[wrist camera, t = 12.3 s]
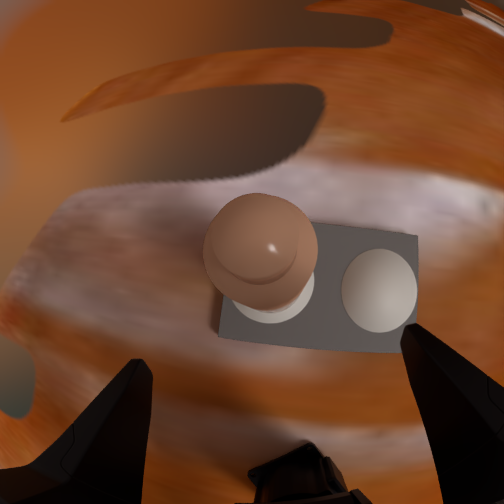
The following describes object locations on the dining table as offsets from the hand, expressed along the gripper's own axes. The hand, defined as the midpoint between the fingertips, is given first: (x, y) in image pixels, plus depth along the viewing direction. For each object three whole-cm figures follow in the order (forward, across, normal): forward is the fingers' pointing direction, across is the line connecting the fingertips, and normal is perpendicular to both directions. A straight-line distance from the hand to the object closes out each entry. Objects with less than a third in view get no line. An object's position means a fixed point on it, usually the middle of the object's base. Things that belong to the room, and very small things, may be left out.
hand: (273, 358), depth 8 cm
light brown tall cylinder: (+12, 0, +6) cm, 13 cm away
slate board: (+12, -4, +7) cm, 15 cm away
